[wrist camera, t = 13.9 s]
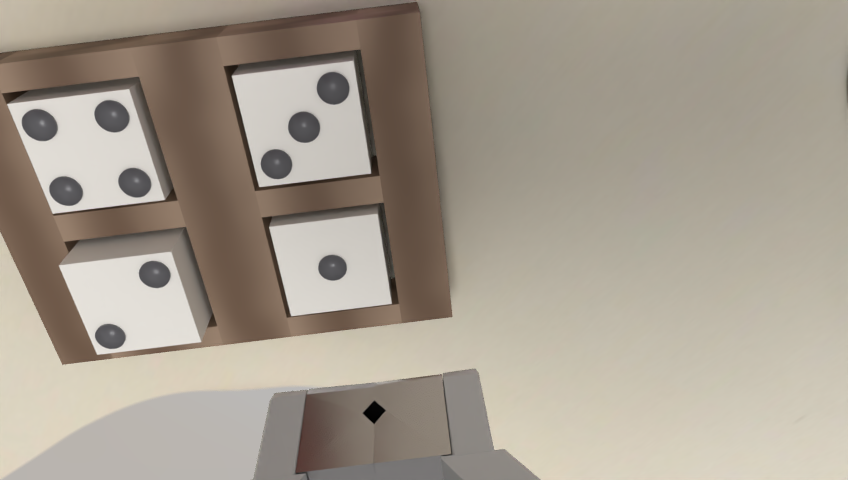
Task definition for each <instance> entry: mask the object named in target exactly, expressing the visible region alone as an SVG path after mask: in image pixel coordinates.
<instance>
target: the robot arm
mask: <svg viewBox="0 0 848 480" xmlns="http://www.w3.org/2000/svg"><path fill="white" fill-rule="evenodd" d="M443 386H444V387H443ZM253 480H540V479H539V478H538V477H537V476H536V475H534V474H533V473H532V472H531V471H530V470H529V469H527V468H526V467H525V466H524V465H523V464H521V463H520V462H519V461H518V460H517V459H516V458H514V457H513V456H512V455H511V454H510V453H508V452H507V451H506V450H505V449H502V450H494V447H493V442H492V437H491V432H490V427H489V422H488V417H487V412H486V407H485V402H484V397H483V393H482V388H481V383H480V378H479V373H478V371H477V370H476V369H469V370H462V371H455V372H448V373H443V380H442V374H440V375H432V376H424V377H416V378H408V379H400V380H393V381H385V382H377V383H366V384H355V385H345V386H335V387H325V388H315V389H309V390H300V391H291V392H281V393H275V394H274V395H273V397H272V398H271V400H270V403H269V408H268V412H267V418H266V422H265V427H264V431H263V436H262V441H261V446H260V450H259V455H258V460H257V464H256V469H255V474H254V479H253Z"/></svg>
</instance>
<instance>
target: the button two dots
mask: <svg viewBox="0 0 848 480" xmlns="http://www.w3.org/2000/svg"><path fill="white" fill-rule="evenodd" d="M59 267H60V270H61V272H62V274H63V277H64V279H65V281H66V284H67V286H68V288H69V291H70V293H71V295H72V298H73V300H74V302H75V305H76V307H77V309H78V311H79V314H80V316H81V318H82V321H83V323H84V325H85V328H86V330H87V332H88V335H89V337H90V339H91V342H92V344H93V346H94V349H95V351H96V353H97V355H100V354H108V353H117V352H125V351H133V350H141V349H149V348H158V347H166V346H174V345H182V344H190V343H198V342H202V339H203V336H204V334H205V331H206V329H207V326H208V323H209V321H210V318H211V315H212V313H213V311H212V308H211V304H210V301H209V298H208V295H207V292H206V288H205V285H204V282H203V279H202V276H201V273H200V269H199V266H198V263H197V260H196V257H195V253H194V250H193V247H192V244H191V241H190V238H189V234H188V231H187V228H186V227H180V228H172V229H164V230H155V231H147V232H139V233H131V234H123V235H115V236H106V237H98V238H90V239H82V240H79V241H78V243H77V244H76V245H75V246H74V247H73V249H72V250H71V251H70V252H69V253H68V255H67V256H66V257H65V258H64V260H63V261H62V262H61V263H60V264H59Z"/></svg>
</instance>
